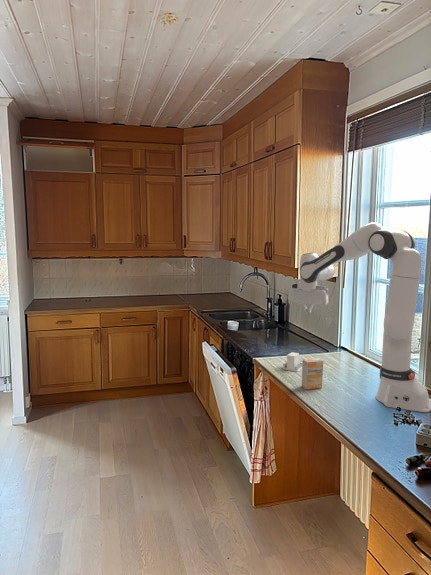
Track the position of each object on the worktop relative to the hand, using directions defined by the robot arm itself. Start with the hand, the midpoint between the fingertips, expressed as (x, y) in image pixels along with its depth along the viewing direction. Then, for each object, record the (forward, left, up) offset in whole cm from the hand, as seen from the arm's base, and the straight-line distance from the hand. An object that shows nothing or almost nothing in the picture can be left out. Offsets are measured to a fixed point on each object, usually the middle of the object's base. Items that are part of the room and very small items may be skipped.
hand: (307, 312), depth 227 cm
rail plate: (+5, +6, -29) cm, 30 cm away
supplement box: (-13, +25, -29) cm, 41 cm away
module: (+5, +6, -28) cm, 29 cm away
